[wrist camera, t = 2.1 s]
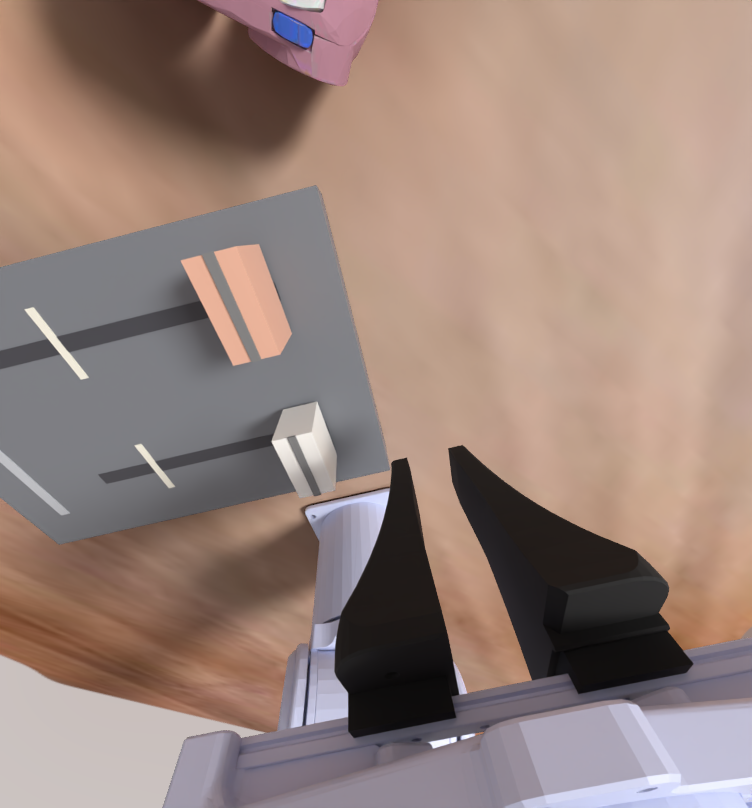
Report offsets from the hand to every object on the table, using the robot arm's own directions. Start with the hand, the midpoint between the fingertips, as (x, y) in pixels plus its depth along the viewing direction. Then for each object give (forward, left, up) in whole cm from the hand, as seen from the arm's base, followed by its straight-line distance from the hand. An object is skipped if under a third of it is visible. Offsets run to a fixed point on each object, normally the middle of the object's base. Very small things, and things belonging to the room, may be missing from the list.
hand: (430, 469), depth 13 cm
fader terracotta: (+8, +6, -5) cm, 11 cm away
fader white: (0, +6, -5) cm, 8 cm away
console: (+4, +14, -8) cm, 17 cm away
